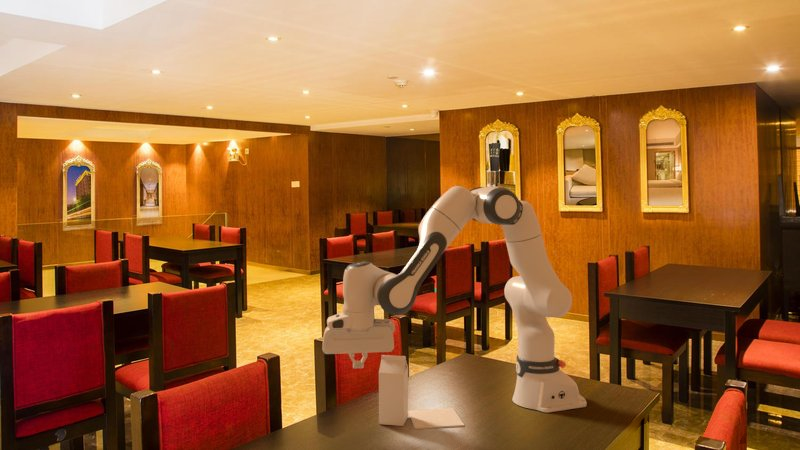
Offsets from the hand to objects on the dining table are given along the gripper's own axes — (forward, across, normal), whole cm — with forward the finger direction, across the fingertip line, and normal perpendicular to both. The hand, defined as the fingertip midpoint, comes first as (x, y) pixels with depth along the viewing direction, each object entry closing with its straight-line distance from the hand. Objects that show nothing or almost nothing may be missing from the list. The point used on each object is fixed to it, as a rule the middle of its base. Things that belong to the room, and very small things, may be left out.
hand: (358, 367), depth 165 cm
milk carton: (+16, -10, 0) cm, 19 cm away
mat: (+16, -22, 0) cm, 27 cm away
